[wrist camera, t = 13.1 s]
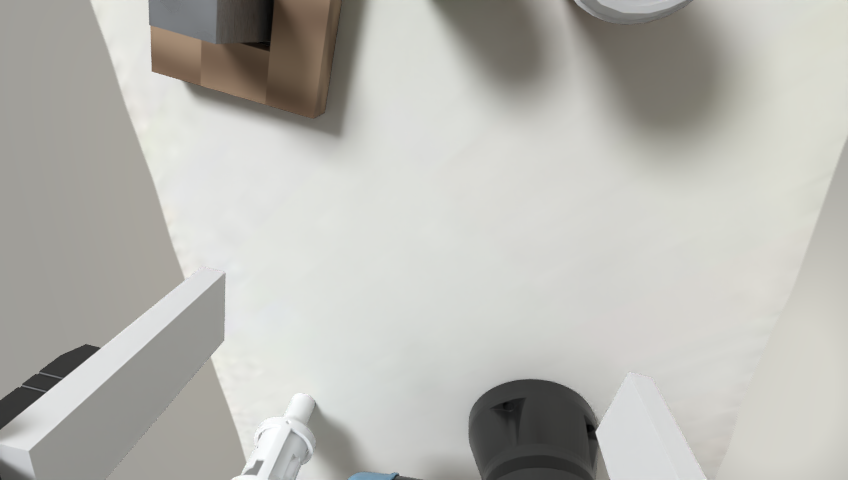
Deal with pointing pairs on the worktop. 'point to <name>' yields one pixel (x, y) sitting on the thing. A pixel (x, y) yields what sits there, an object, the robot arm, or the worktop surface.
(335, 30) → the socket block
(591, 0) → the disposable coffee cup
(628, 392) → the robot arm
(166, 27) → the square peg
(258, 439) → the white tall cylindrical piece
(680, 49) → the worktop surface
